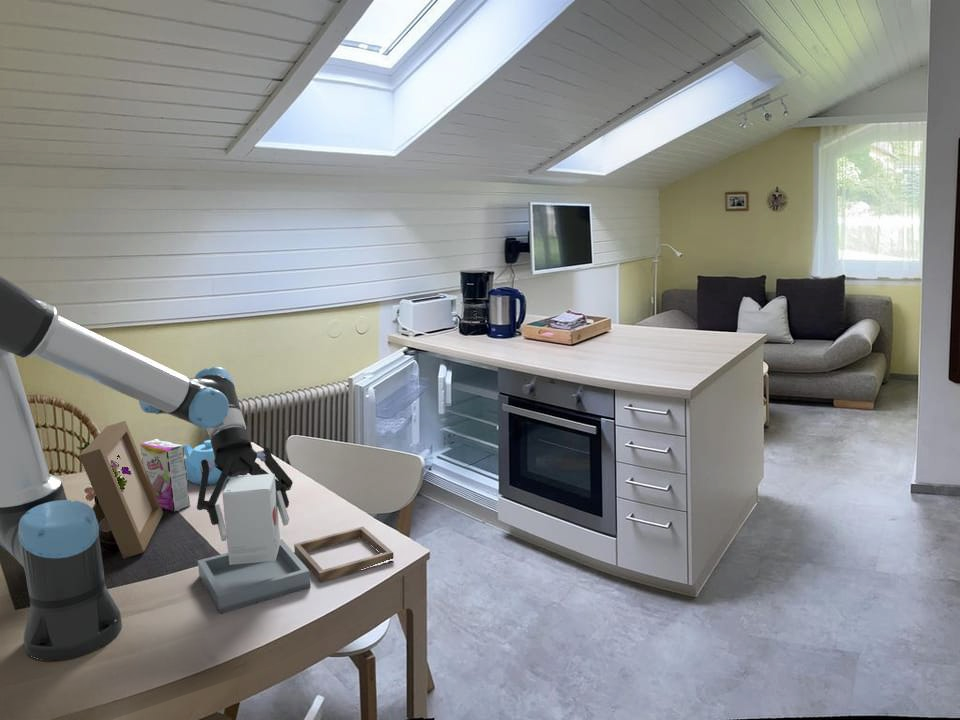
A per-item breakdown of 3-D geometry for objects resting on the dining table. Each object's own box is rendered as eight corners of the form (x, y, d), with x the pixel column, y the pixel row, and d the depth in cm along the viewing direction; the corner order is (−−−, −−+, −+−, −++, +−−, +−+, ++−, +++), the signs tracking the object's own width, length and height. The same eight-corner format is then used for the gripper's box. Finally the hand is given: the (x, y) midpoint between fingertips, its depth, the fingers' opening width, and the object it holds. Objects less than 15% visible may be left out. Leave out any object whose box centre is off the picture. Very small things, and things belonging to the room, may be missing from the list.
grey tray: (219, 613, 140) (217, 596, 139) (199, 576, 154) (197, 560, 153) (310, 587, 148) (309, 570, 148) (283, 554, 163) (282, 539, 162)
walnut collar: (320, 582, 150) (319, 573, 150) (294, 552, 164) (294, 544, 163) (393, 561, 158) (393, 552, 158) (363, 534, 172) (362, 526, 171)
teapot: (179, 490, 202) (175, 452, 200) (185, 472, 217) (181, 436, 214) (239, 484, 206) (235, 446, 204) (241, 466, 220) (237, 430, 218)
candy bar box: (146, 504, 193) (138, 443, 190) (163, 498, 197) (156, 437, 194) (173, 513, 187) (166, 449, 184) (191, 506, 191) (184, 444, 188)
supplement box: (276, 562, 146) (269, 489, 143) (228, 566, 145) (220, 492, 142) (282, 541, 155) (275, 472, 152) (236, 545, 154) (229, 475, 151)
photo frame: (163, 516, 185) (150, 418, 180) (144, 556, 164) (128, 446, 159) (98, 524, 182) (83, 424, 177) (70, 565, 161) (52, 453, 156)
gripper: (282, 433, 166) (311, 523, 156) (167, 455, 154) (191, 553, 144) (287, 415, 160) (318, 507, 150) (169, 436, 148) (194, 537, 138)
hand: (256, 530), depth 147 cm, fingers closed on supplement box, 11 cm apart
